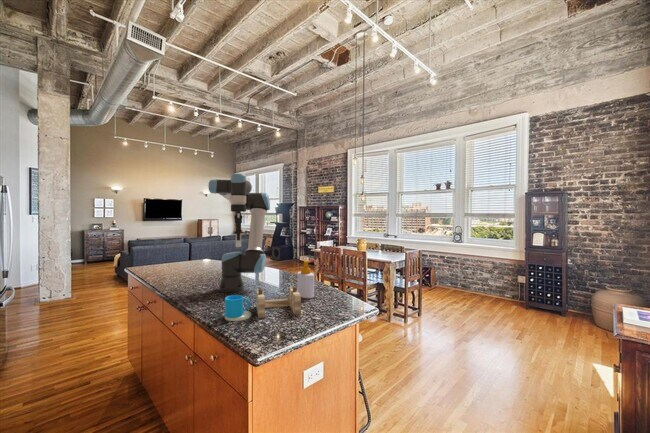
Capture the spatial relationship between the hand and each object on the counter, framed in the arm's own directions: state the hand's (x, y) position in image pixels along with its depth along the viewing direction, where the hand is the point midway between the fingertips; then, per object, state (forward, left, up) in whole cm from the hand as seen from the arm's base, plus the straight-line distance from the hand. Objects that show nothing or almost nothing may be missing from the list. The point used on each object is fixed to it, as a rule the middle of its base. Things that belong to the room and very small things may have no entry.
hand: (238, 245), depth 151 cm
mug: (+14, 0, -31) cm, 34 cm away
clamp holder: (+11, +19, -32) cm, 39 cm away
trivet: (+15, 0, -32) cm, 35 cm away
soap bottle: (-10, +38, -32) cm, 51 cm away
